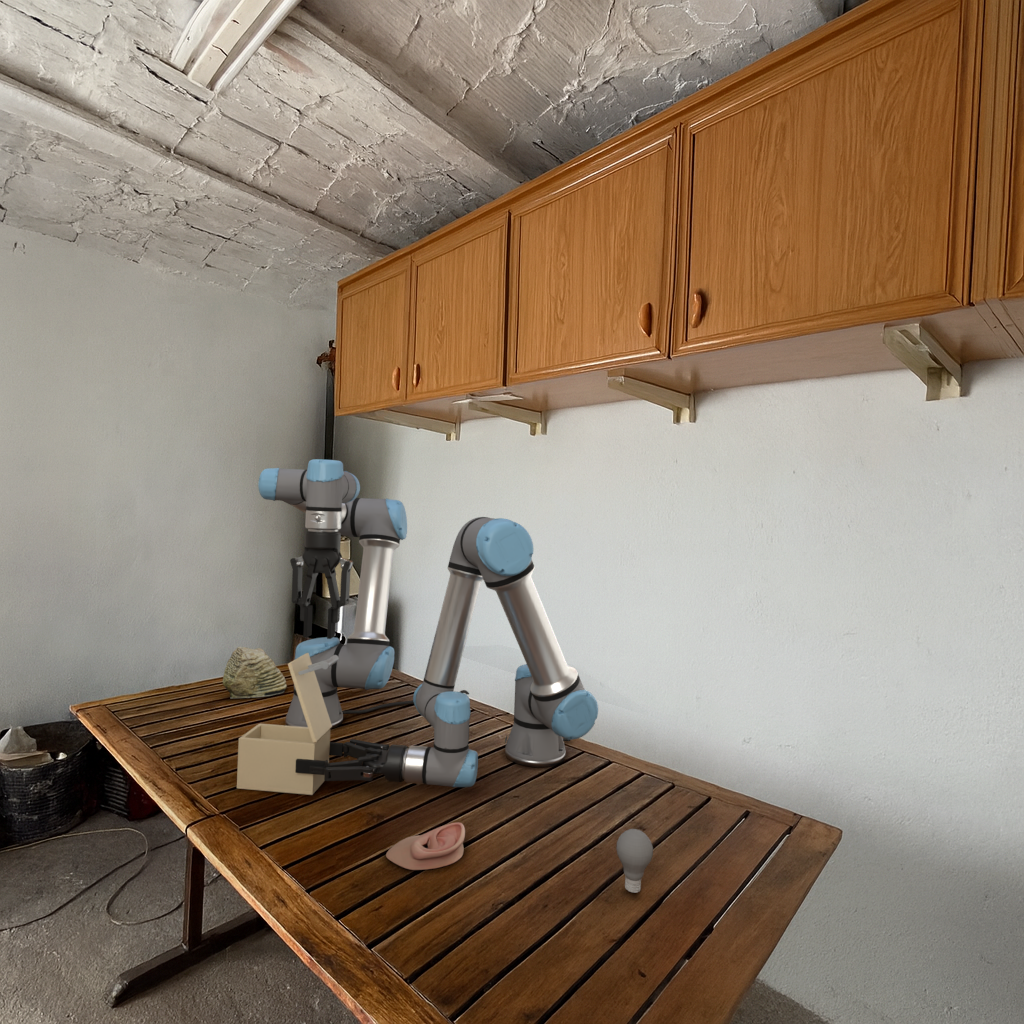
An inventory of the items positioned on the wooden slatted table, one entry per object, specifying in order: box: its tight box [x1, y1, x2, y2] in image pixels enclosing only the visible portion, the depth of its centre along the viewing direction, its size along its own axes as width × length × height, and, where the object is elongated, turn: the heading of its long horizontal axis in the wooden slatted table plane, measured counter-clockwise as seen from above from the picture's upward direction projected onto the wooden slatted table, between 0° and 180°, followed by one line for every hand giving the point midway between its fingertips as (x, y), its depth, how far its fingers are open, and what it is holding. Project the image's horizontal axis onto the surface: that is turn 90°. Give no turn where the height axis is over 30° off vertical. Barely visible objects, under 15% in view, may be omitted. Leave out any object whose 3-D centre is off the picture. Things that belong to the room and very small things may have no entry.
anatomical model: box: [385, 821, 466, 871], centre depth 114 cm, size 13×4×12 cm
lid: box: [287, 653, 339, 743], centre depth 139 cm, size 18×9×8 cm
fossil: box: [222, 646, 288, 699], centre depth 198 cm, size 9×18×15 cm, turn 132°
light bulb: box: [615, 828, 654, 894], centre depth 106 cm, size 6×6×10 cm
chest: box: [236, 723, 331, 796], centre depth 140 cm, size 17×9×11 cm, turn 85°
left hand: (319, 636), depth 139 cm, fingers open, 5 cm apart
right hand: (305, 756), depth 139 cm, fingers closed on chest, 9 cm apart
